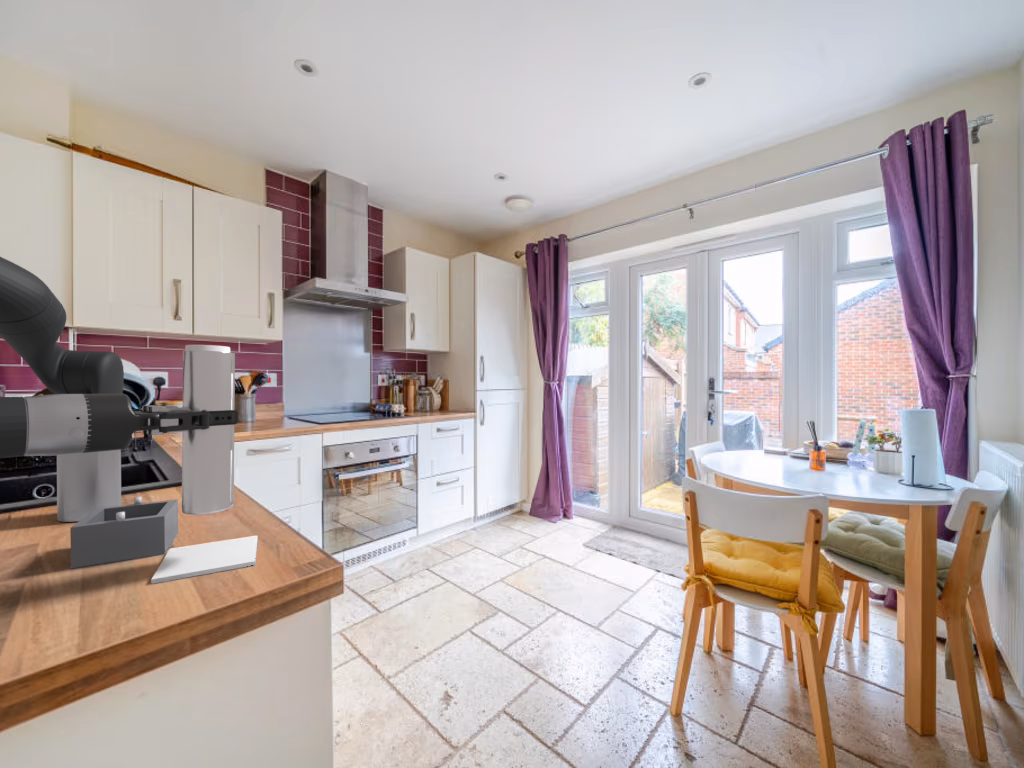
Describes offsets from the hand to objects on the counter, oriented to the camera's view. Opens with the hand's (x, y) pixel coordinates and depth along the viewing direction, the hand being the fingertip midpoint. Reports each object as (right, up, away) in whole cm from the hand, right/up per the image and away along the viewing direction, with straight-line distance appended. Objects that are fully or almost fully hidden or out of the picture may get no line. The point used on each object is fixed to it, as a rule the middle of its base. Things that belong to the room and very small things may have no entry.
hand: (227, 416), depth 67 cm
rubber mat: (-1, -22, -2) cm, 22 cm away
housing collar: (-17, -22, +2) cm, 28 cm away
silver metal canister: (-2, -14, -2) cm, 14 cm away
